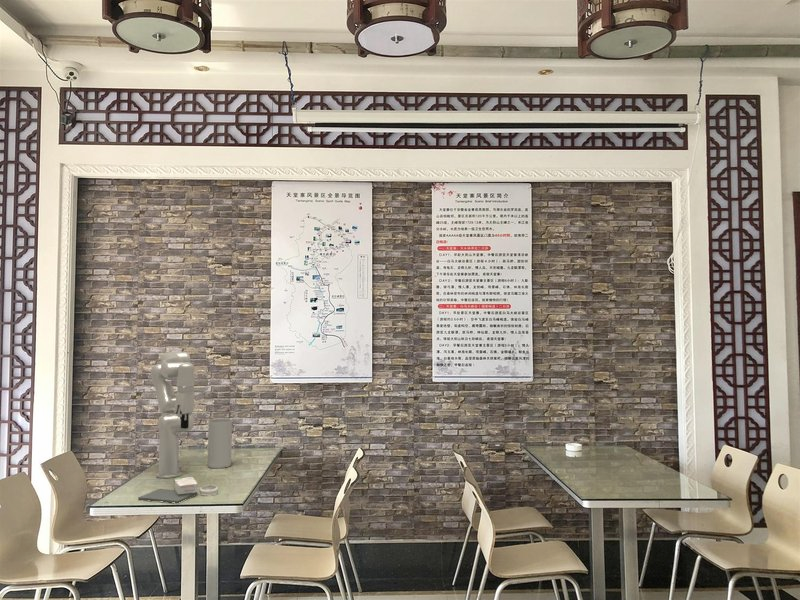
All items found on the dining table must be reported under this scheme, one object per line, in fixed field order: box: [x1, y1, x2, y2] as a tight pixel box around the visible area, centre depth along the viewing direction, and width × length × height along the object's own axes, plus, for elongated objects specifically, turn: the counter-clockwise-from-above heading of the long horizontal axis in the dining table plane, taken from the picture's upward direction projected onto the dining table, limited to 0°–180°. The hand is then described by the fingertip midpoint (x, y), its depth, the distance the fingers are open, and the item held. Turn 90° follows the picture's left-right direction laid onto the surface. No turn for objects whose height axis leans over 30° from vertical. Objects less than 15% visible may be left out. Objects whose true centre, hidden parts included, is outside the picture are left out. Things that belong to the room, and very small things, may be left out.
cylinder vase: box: [207, 418, 233, 469], centre depth 337 cm, size 12×12×25 cm
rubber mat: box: [138, 488, 198, 504], centre depth 275 cm, size 15×20×1 cm
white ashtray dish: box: [199, 485, 219, 496], centre depth 282 cm, size 8×8×3 cm
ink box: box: [173, 476, 198, 495], centre depth 280 cm, size 9×5×15 cm
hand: (184, 428), depth 291 cm, fingers closed
